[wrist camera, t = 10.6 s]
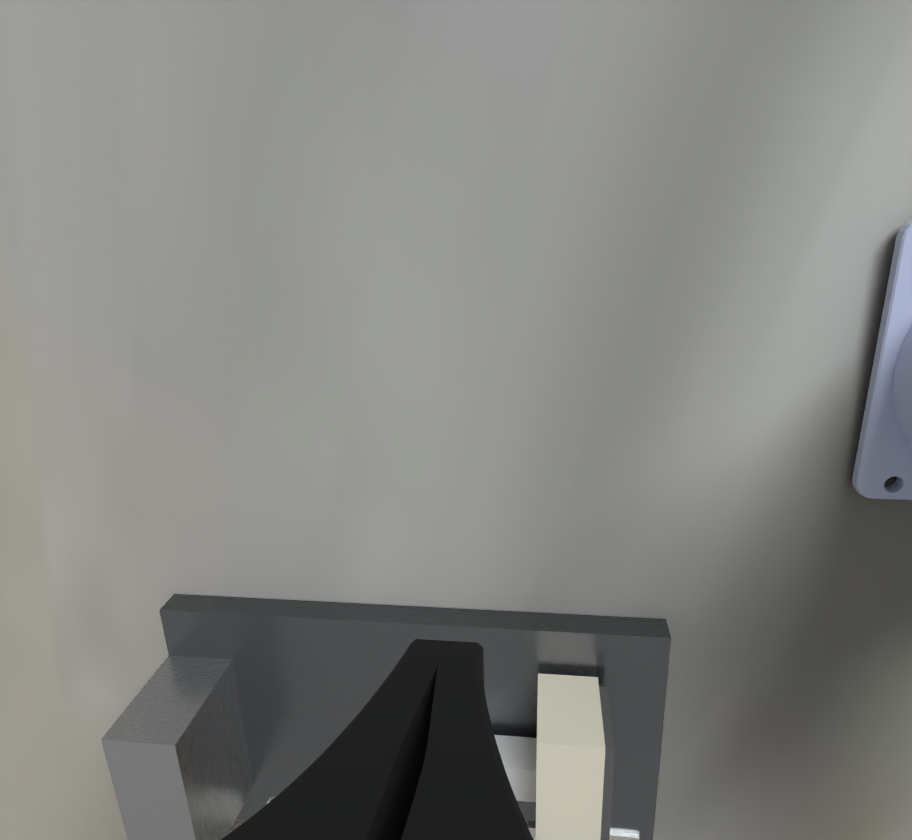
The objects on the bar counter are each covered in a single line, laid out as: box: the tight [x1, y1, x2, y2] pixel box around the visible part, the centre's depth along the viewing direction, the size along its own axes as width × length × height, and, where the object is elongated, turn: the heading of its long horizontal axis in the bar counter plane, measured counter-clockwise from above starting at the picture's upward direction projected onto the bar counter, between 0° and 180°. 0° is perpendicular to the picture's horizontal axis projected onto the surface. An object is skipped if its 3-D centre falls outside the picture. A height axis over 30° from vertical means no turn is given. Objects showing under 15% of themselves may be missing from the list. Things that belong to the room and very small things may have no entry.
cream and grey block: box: [494, 673, 615, 840], centre depth 22 cm, size 6×7×3 cm
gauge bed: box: [101, 594, 671, 840], centre depth 23 cm, size 18×10×5 cm, turn 92°
